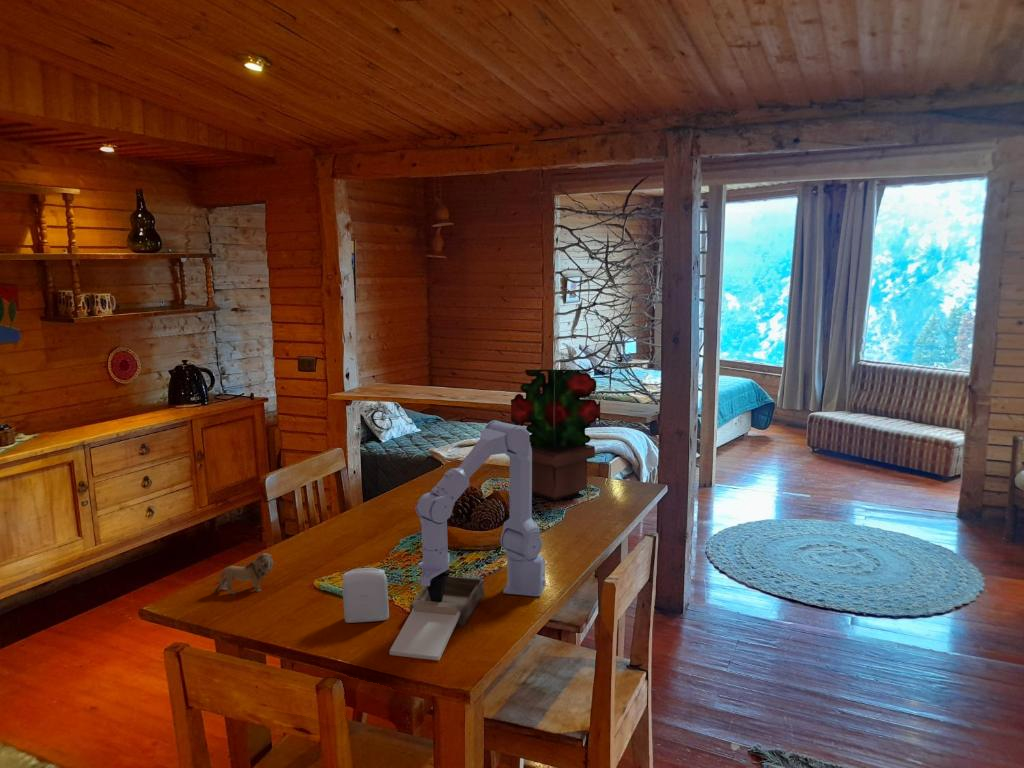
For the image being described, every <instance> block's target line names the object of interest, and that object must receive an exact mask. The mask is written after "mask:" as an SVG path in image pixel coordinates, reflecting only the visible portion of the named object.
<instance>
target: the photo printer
mask: <svg viewBox="0 0 1024 768" xmlns="http://www.w3.org/2000/svg"><path fill="white" fill-rule="evenodd" d="M341 587H342V598H343V599H342V600H343V612H344V621H345V623H347V624H348V623H349V624H350V623H353V624H354V623H366V622H367V623H368V622H380V621H381V622H382V621H386V620H388V619H389V617H390V610H389V609H390V608H389V606H390V605H389V594H388V593H389V592H388V591H389V590H388V577H387V575H386V572H385V570H384V569H381V568H374V567H362V568H361V567H360V568H355V569H351V570H349V571H346V572H344V573H343V577H342V586H341Z"/></svg>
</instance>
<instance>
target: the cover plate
mask: <svg viewBox="0 0 1024 768" xmlns="http://www.w3.org/2000/svg"><path fill="white" fill-rule="evenodd" d="M414 600H415V599H414ZM414 600H413V601H414ZM409 613H410V612H409ZM459 617H460V611H458V610H457V604H453V603H443V602H432V601H422V600H415V601H414V603H413V610H412V612H411V613H410V614H409V615H408V616H407V619H406V620H405V622H404V624H403V626H402V628H401V630H400V631H399V634H398V635H397V636H396V638H395V640H394V642H393V644H392V646H391V647H390V648H389V649H390V650H389V655H390V656H395V657H396V656H397V657H405V658H407V657H408V658H413V659H421V660H423V659H424V660H429V661H431V660H432V661H440V660H441V657H442V655H443V653H444V652H445V649H446V646H447V645H448V642H449V640H450V639H451V638H450V637H451V635H452V633H453V632H454V629H455V628H456V626H455V625H456V623H457V621H458V619H459Z"/></svg>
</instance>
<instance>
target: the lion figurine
mask: <svg viewBox="0 0 1024 768" xmlns="http://www.w3.org/2000/svg"><path fill="white" fill-rule="evenodd" d="M273 567H274V560H273V555H272V554H270V553H267V552H265V553H261V554H260V555H259V556H258V557H256V559H254V560H253V561H251V562H250V563H249V564H247V565H245V566H236V565H229V566H227V567H225V568H224V569H223V570H222V572H221V574H220V577H219V583H218V586H217V588H216V589H214V591H213V593H218V592H219V591H220V589H221V590H222V591H227V590H228V591H229V593H230V594H231V595H235V594H236V593H237V591H236V590H233V589H232V587H233V586H232V585H233V582H234V578H235V579H237V581H241V582H244V581H245V582H246V581H252V582H253V588H254V590H255V592H256V593H260V592H262V589H261V588H260V587H261V585H260V580H262V579H265V578H266V577H267V576H268V574H269V573H270V572H271V570H272V569H273ZM223 578H224V579H223ZM226 585H227V586H226Z"/></svg>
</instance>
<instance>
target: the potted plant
mask: <svg viewBox="0 0 1024 768" xmlns="http://www.w3.org/2000/svg"><path fill="white" fill-rule="evenodd" d="M588 371H589V369H557V367H555V368H554V369H525V374H526V376H528V377H535V378H533V379H532V380H531V382H530V383H522V384H520V386H519V389H520V391H522V393H523V392H525V398H524V396H523V394H521V393H517V394H515V396H514V398H512V399H510V419H511V420H510V422H511V423H514V425H519V426H522V427H524V425H525V423H530V424H528V425H527V426H526V428H525V429H526V430H527V431H529V442H530V445H531V448H532V495H536V496H539V497H541V498H544V499H546V500H551V501H553V502H558V501H560V500H565V499H568V498H571V497H575V496H578V495H580V492H582V491H584V490H588V459H594V458H595V457H596V446H595V445H591V444H589V443H590V442H591V437H590V435H587V434H586V429H588V428H590V427H591V424H593V423H595V422H596V421H597V419H598V421H599V422H601V400H599V401H598V403H597V402H596V400H595V399H593V398H589V399H588V397H590V396H591V394H592V393H593V392H595V391H596V390H597V380H596V379H595V378H593V377H591V375H590V374H589V373H587V372H588ZM543 372H547V377H546V375H545V374H544V373H543ZM583 372H585V373H583ZM546 380H547V381H546ZM541 388H542V390H541ZM541 391H542V392H541ZM582 398H583V399H582ZM587 443H588V444H587Z"/></svg>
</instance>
